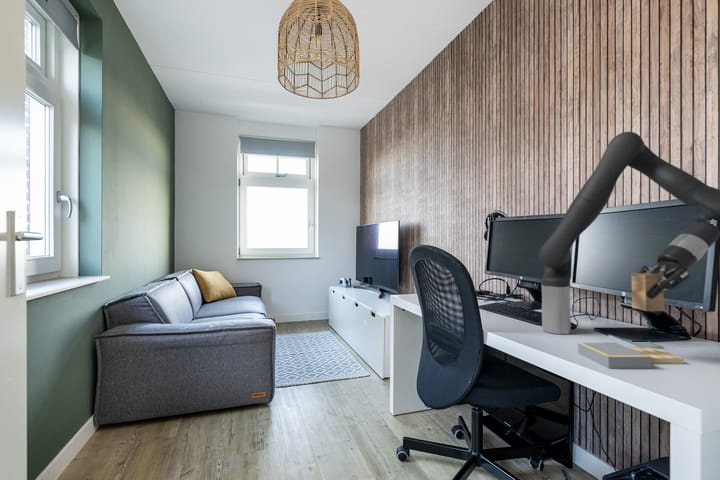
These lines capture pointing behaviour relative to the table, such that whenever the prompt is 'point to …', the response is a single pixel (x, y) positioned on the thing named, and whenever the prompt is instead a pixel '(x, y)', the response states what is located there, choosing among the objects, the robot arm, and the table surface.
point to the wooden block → (639, 289)
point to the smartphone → (638, 343)
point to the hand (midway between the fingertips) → (640, 295)
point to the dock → (614, 355)
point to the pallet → (659, 355)
